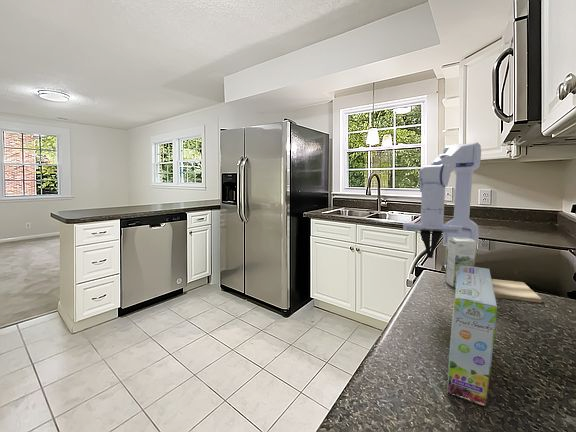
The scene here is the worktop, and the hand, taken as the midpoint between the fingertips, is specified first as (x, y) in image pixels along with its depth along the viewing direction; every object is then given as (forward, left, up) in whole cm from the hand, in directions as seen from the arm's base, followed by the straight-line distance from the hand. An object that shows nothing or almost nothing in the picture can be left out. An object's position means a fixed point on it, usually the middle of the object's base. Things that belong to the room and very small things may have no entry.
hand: (429, 257), depth 82 cm
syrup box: (-10, +9, -11) cm, 17 cm away
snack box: (+34, +5, -11) cm, 36 cm away
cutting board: (-10, +20, -10) cm, 25 cm away
